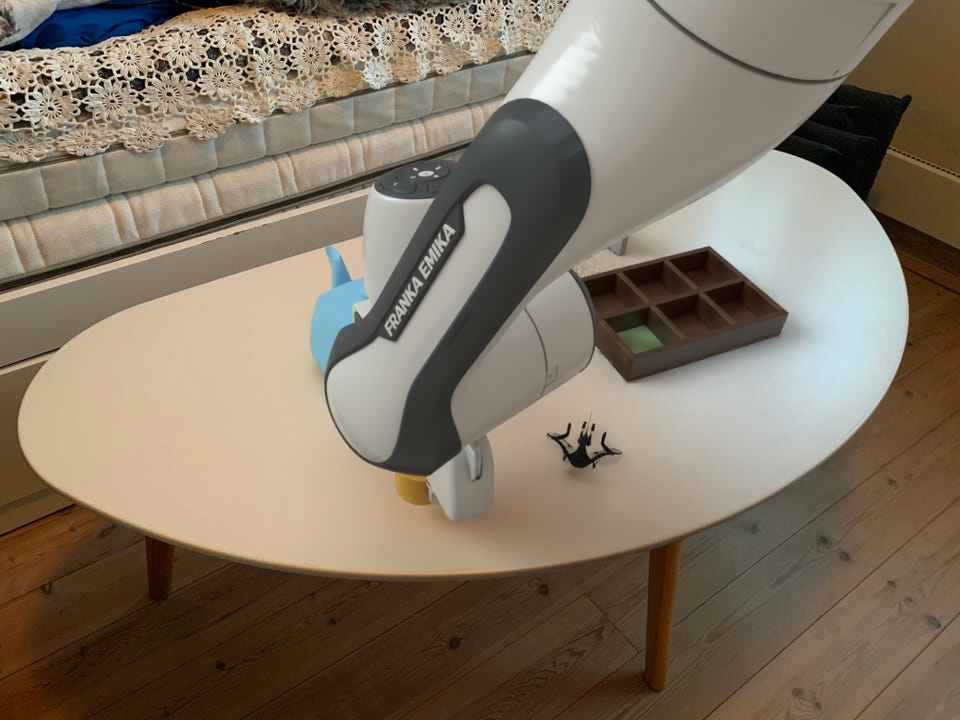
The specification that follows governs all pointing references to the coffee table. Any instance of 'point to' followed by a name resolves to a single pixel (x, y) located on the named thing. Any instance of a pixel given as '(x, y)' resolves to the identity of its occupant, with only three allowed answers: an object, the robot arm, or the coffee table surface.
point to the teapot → (334, 308)
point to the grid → (678, 312)
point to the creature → (582, 448)
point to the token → (412, 489)
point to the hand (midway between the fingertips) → (423, 471)
